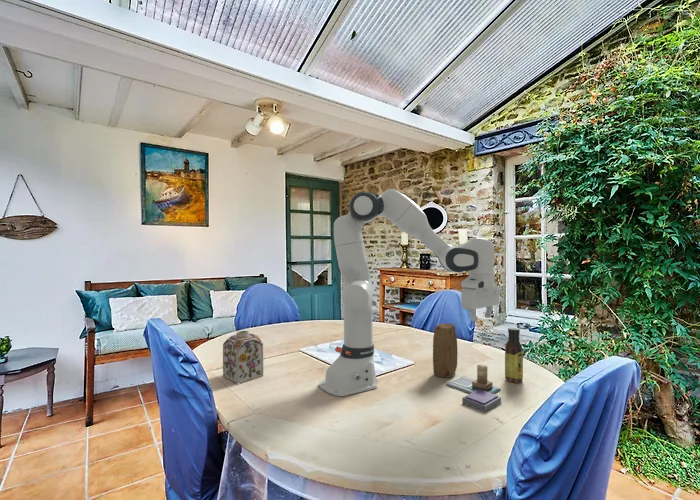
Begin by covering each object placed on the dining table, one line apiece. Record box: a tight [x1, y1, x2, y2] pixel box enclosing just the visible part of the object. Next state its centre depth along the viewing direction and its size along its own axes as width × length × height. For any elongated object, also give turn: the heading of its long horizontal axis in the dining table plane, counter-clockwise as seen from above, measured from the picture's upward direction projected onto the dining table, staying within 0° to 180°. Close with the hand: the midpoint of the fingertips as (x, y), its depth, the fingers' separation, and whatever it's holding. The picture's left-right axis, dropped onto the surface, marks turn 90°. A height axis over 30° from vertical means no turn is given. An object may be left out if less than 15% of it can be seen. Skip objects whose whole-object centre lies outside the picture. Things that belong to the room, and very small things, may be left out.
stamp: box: [472, 364, 494, 392], centre depth 123 cm, size 5×5×8 cm
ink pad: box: [462, 389, 502, 413], centre depth 114 cm, size 10×8×2 cm
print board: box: [446, 375, 501, 394], centre depth 126 cm, size 11×15×1 cm
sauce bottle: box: [504, 327, 524, 384], centre depth 132 cm, size 6×6×20 cm
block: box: [432, 322, 458, 378], centre depth 139 cm, size 11×8×20 cm
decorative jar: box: [222, 330, 264, 385], centre depth 137 cm, size 12×12×18 cm
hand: (481, 319), depth 127 cm, fingers open, 8 cm apart
